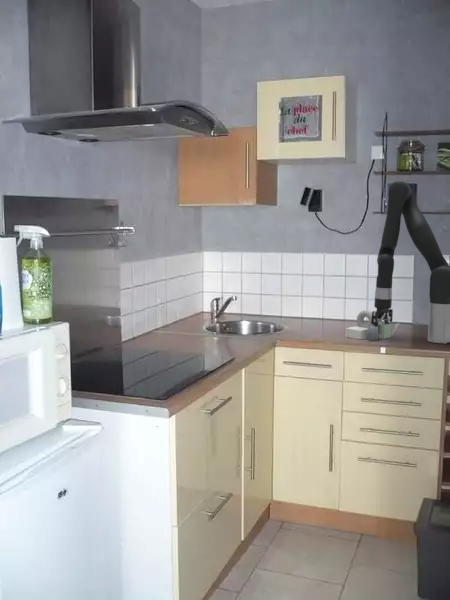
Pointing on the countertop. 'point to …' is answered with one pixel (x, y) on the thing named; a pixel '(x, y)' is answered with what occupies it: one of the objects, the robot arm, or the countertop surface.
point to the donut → (361, 318)
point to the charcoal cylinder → (372, 333)
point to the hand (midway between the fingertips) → (381, 332)
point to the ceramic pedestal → (356, 332)
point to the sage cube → (384, 330)
